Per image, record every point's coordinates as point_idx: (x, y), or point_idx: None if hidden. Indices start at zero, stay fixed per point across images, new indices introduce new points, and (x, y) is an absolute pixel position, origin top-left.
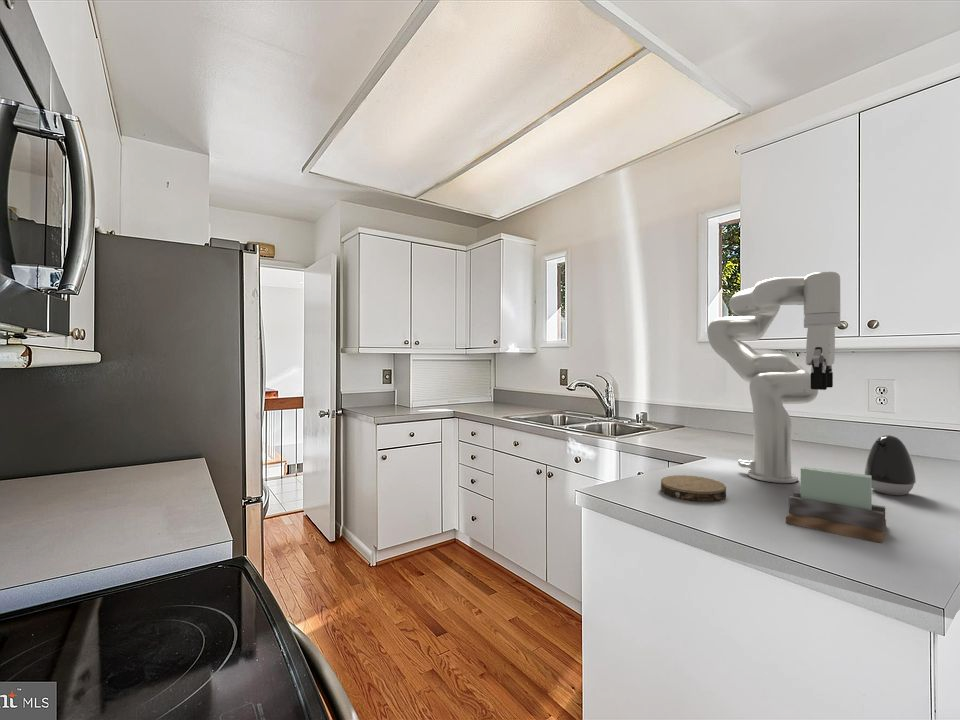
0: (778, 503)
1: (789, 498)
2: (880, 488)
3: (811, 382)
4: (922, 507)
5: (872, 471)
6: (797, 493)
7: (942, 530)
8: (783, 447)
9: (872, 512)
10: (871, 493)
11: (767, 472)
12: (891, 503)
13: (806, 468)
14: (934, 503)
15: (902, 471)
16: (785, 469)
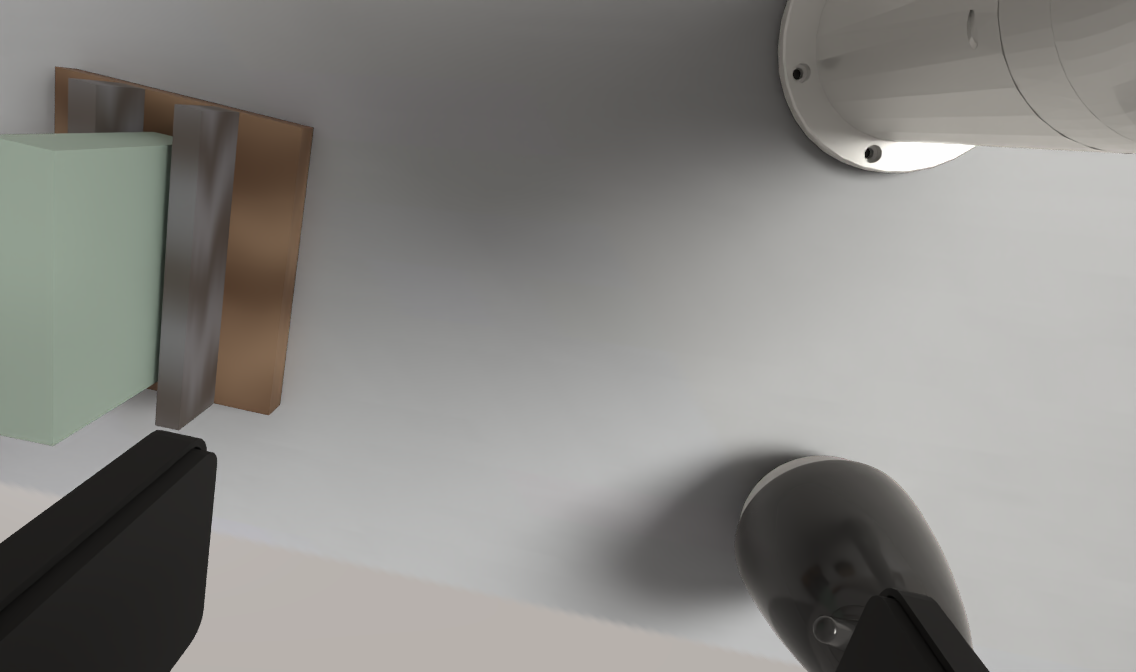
0: (370, 52)
1: (72, 81)
2: (757, 483)
3: (75, 504)
4: (614, 557)
5: (792, 498)
6: (174, 123)
7: (344, 543)
8: (916, 87)
9: None
10: (109, 408)
11: (832, 3)
12: (621, 478)
13: (5, 167)
14: (694, 602)
15: (756, 603)
16: (853, 106)
